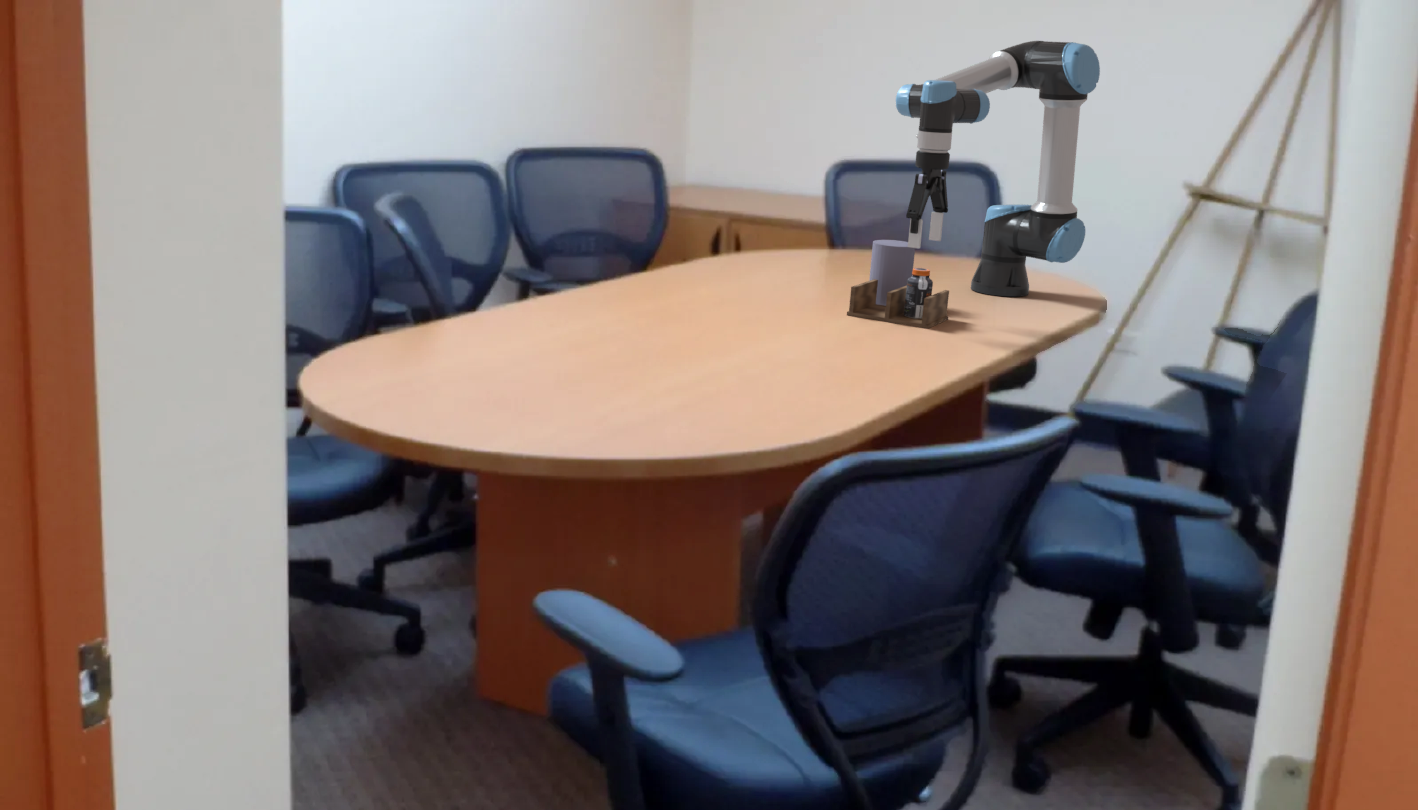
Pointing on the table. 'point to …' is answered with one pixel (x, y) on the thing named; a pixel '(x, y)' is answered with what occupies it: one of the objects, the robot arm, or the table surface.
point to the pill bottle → (917, 292)
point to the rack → (896, 306)
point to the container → (890, 266)
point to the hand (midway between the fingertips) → (924, 244)
